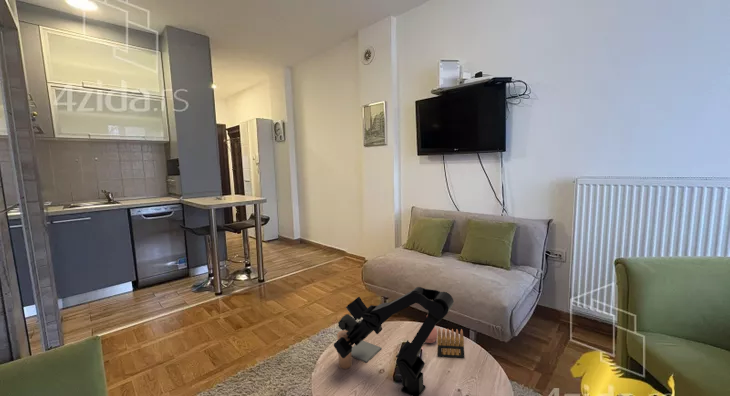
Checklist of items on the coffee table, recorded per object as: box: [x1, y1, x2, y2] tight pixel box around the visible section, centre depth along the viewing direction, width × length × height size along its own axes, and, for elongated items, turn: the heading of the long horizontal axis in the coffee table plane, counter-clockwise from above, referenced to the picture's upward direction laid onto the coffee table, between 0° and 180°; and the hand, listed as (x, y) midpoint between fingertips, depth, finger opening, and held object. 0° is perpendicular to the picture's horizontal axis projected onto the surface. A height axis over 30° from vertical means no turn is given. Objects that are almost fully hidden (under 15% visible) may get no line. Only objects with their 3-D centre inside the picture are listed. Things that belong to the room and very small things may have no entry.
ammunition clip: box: [436, 327, 466, 360], centre depth 123 cm, size 11×2×12 cm, turn 81°
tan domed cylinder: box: [336, 330, 353, 370], centre depth 120 cm, size 5×5×13 cm
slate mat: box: [351, 340, 382, 364], centre depth 129 cm, size 11×11×1 cm
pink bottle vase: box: [425, 326, 438, 344], centre depth 134 cm, size 8×8×12 cm
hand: (341, 348), depth 121 cm, fingers closed on tan domed cylinder, 5 cm apart
